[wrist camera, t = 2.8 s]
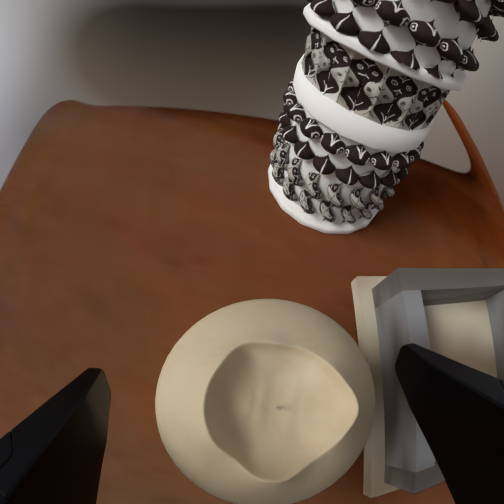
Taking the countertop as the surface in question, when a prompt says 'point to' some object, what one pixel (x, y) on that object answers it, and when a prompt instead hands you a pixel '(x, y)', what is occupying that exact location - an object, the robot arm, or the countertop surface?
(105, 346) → the countertop surface
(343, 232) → the decorative candle
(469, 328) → the square tray
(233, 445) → the candle
